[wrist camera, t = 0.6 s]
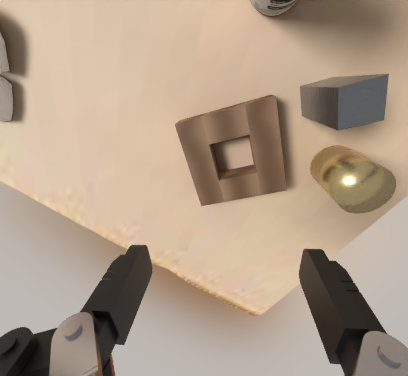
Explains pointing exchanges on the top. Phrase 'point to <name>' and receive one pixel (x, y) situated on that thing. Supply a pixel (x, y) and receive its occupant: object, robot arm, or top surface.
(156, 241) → the top surface
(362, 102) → the square bit
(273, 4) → the spray can
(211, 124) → the bore block
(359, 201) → the cylinder
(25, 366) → the robot arm
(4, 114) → the lung model
